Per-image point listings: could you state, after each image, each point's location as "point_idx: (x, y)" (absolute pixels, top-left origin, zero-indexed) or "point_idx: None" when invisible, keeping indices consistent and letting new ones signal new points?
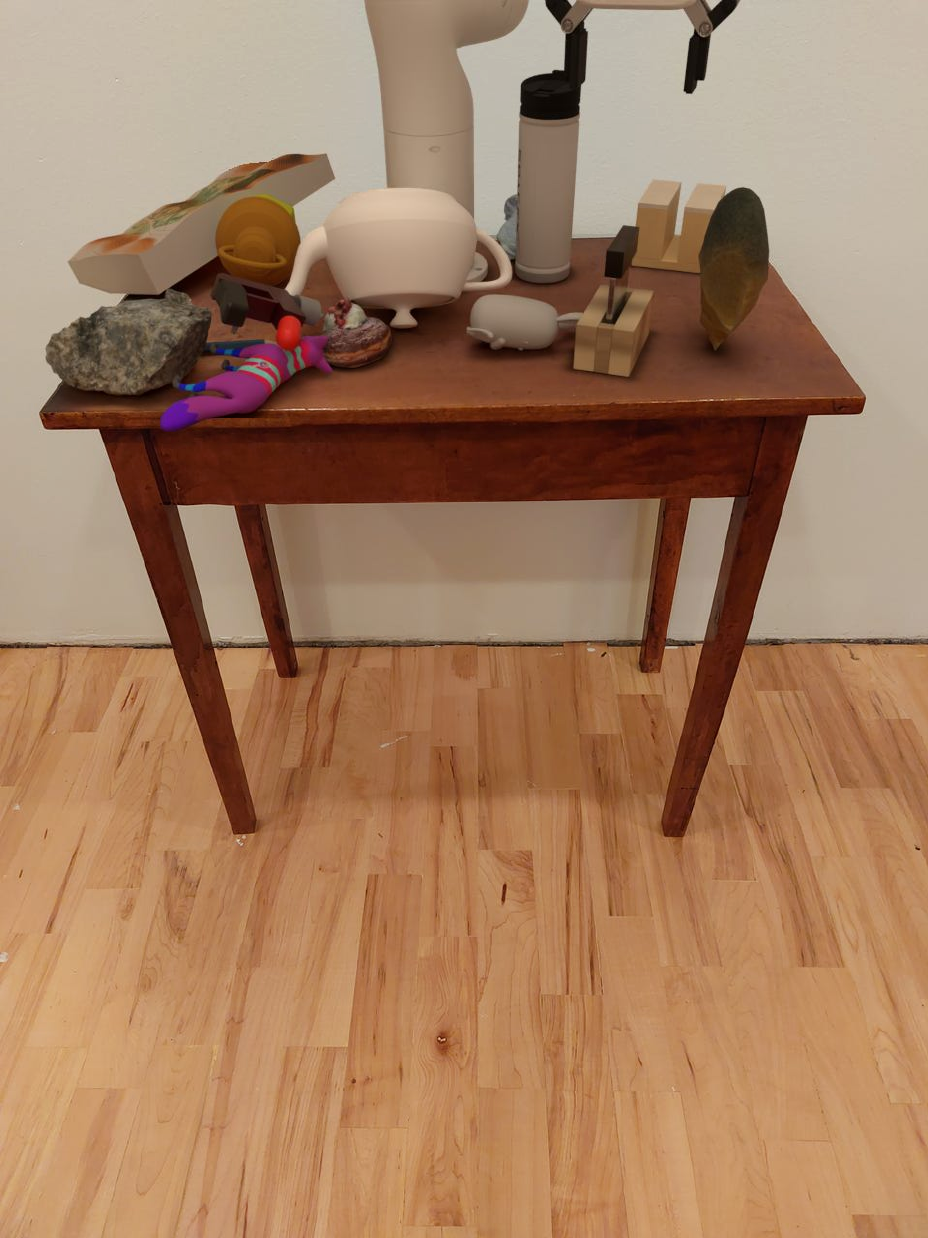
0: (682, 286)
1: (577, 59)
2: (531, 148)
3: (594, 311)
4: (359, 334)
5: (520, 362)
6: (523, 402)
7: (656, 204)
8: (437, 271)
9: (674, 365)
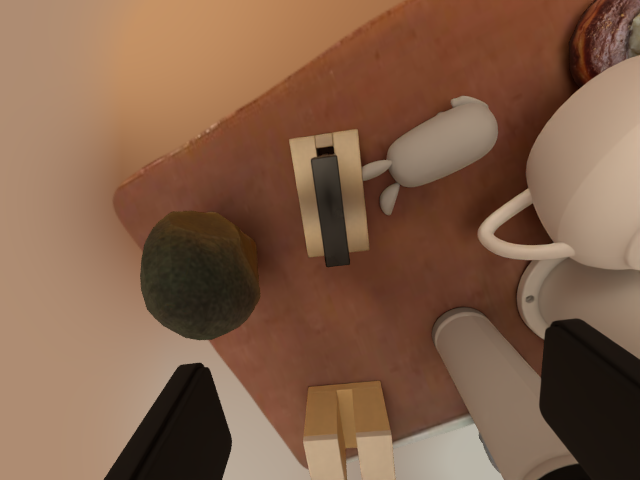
0: (318, 354)
1: (628, 384)
2: None
3: (349, 172)
4: (623, 9)
5: (411, 121)
6: (375, 28)
7: (369, 436)
8: (577, 108)
9: (265, 186)
